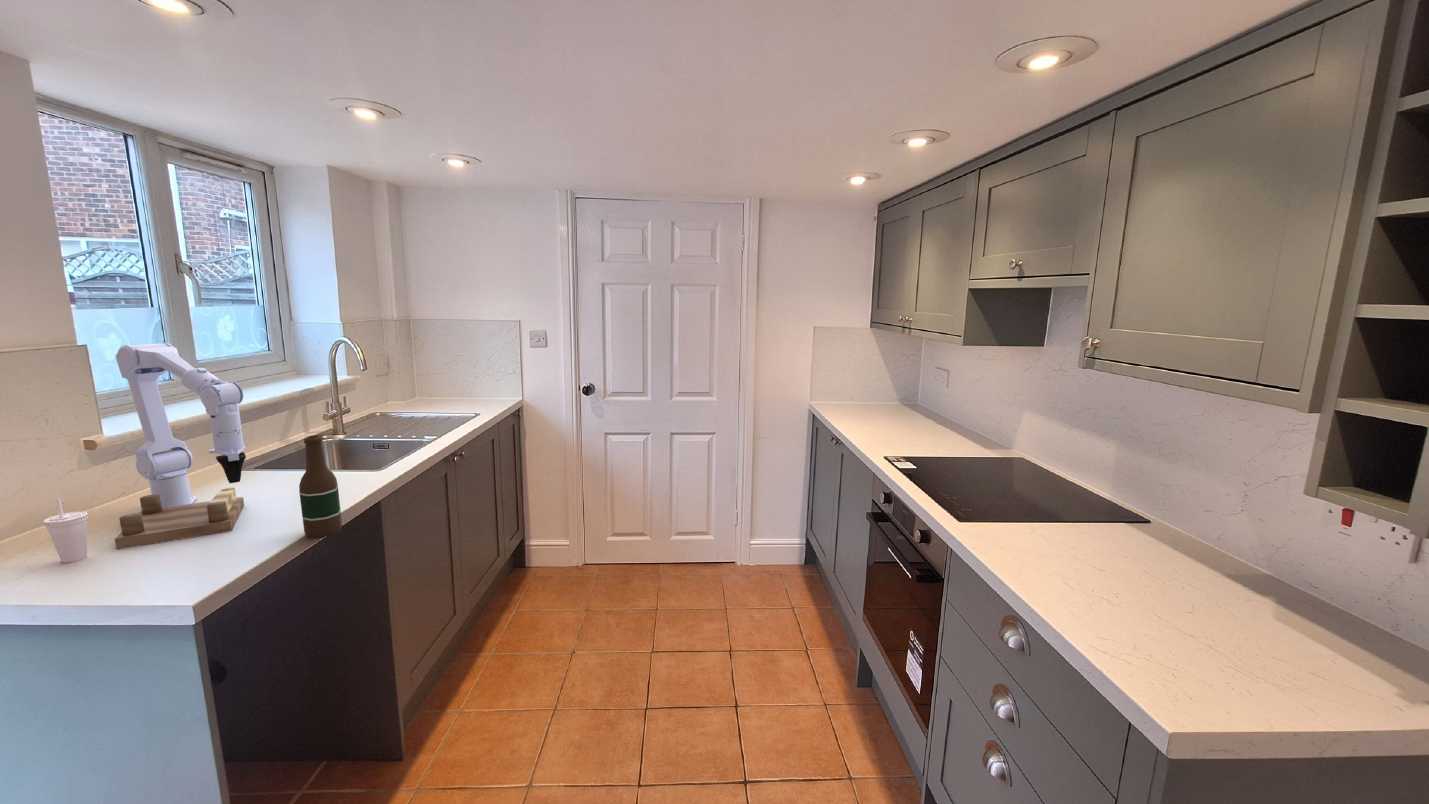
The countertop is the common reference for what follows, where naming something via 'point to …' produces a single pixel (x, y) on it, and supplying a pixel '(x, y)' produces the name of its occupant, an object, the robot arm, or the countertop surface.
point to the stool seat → (175, 521)
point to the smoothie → (68, 534)
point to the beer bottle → (319, 493)
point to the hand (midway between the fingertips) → (234, 482)
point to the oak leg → (225, 497)
